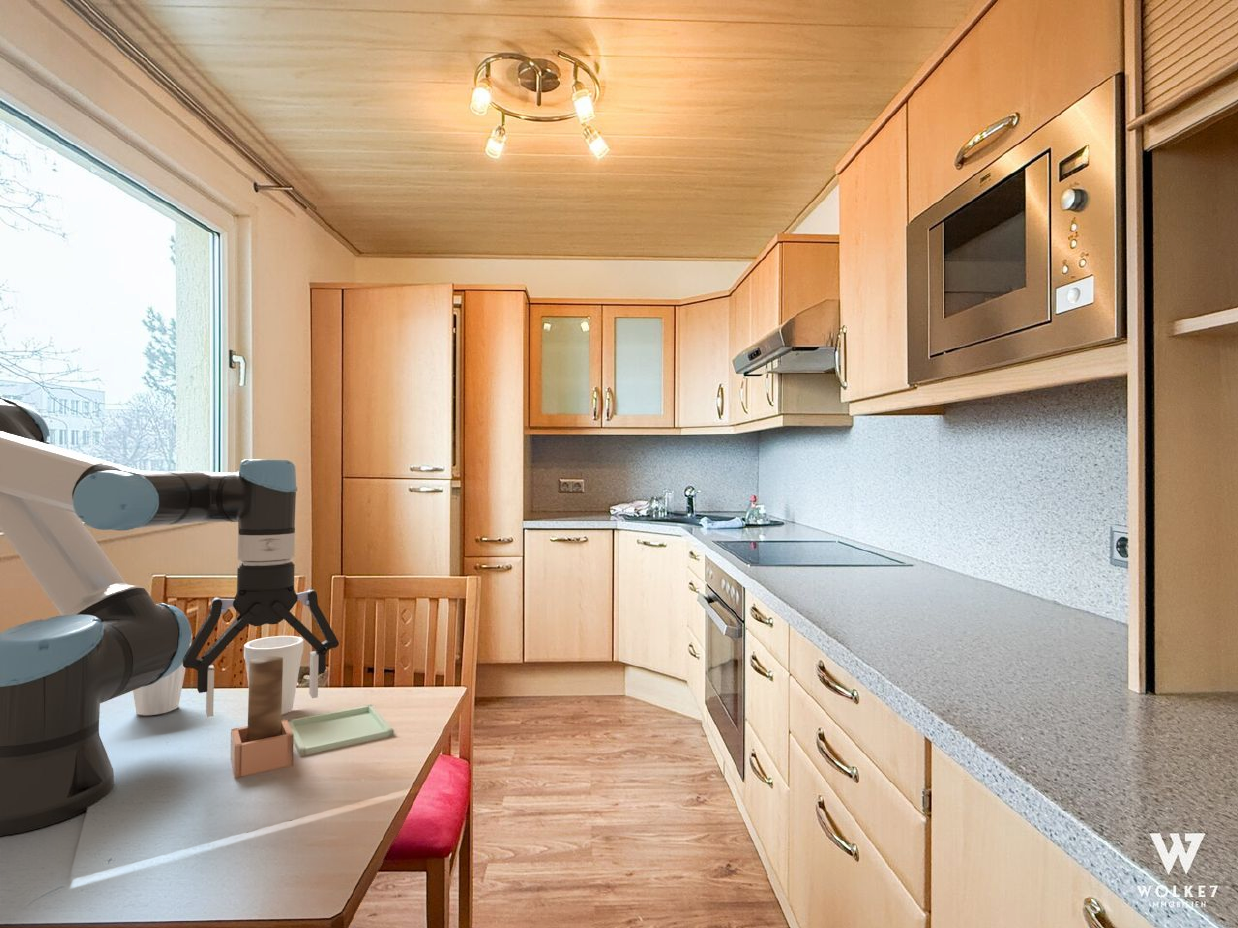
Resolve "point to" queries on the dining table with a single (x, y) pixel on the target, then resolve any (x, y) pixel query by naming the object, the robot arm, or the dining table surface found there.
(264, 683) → the dowel
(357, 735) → the tray
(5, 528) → the robot arm
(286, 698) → the foam cup
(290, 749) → the orange open box
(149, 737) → the dining table surface
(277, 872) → the dining table surface
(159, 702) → the cup
